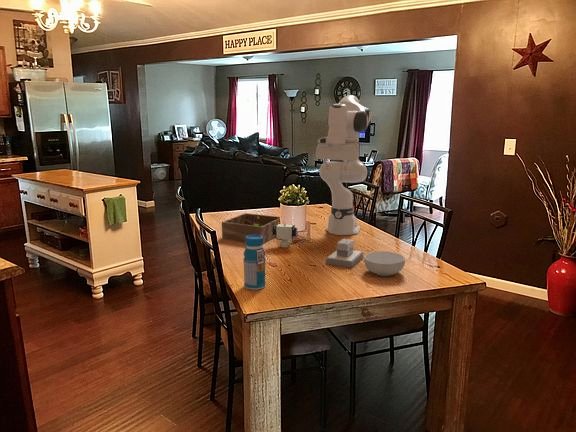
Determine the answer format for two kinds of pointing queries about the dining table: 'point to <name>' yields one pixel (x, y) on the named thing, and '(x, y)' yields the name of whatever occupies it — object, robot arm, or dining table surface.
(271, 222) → the planter crate
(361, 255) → the plinth
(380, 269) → the cereal bowl
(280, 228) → the pneumatic valve
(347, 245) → the block
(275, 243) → the dining table surface
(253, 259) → the beverage bottle
